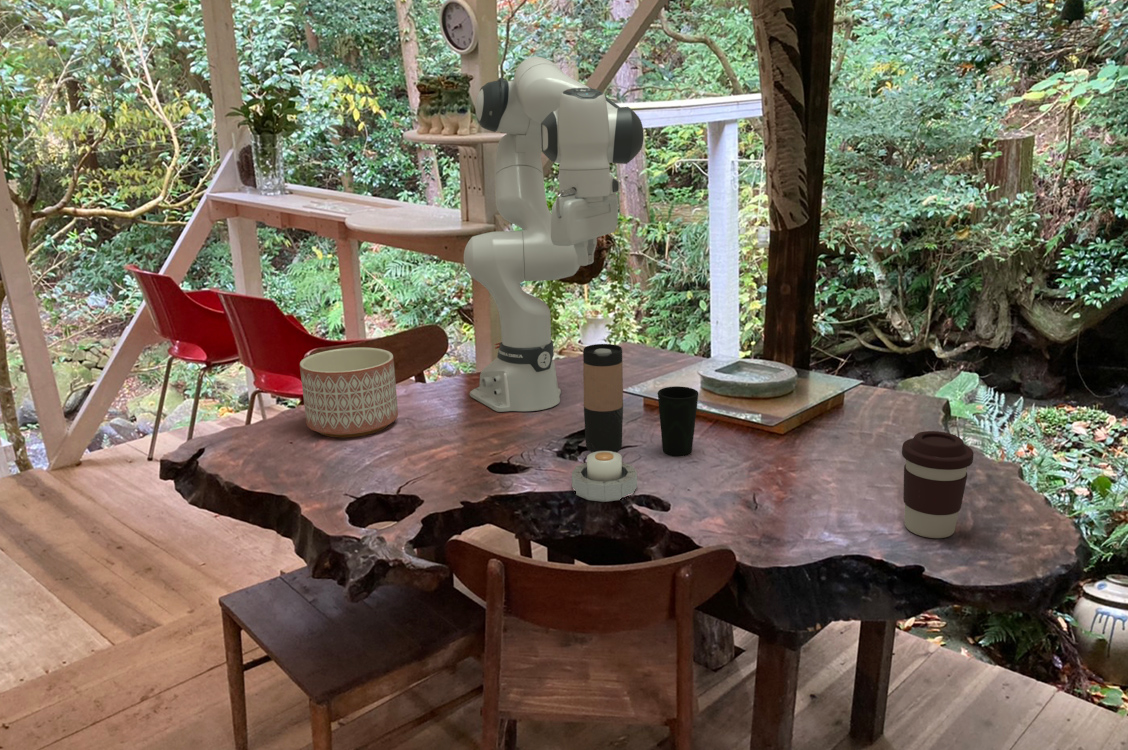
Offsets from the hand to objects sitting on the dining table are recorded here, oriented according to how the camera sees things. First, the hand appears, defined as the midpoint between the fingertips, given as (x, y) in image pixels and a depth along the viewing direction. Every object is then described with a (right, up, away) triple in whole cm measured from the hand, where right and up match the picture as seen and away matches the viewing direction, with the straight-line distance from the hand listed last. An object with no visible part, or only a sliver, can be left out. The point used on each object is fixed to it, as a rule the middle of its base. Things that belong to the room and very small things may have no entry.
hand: (585, 264), depth 156 cm
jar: (+3, -39, -3) cm, 39 cm away
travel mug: (+4, -34, +16) cm, 38 cm away
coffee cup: (+53, -44, -21) cm, 72 cm away
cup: (+18, -35, +13) cm, 41 cm away
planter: (-49, -31, +32) cm, 66 cm away
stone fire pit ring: (+3, -40, -3) cm, 40 cm away
